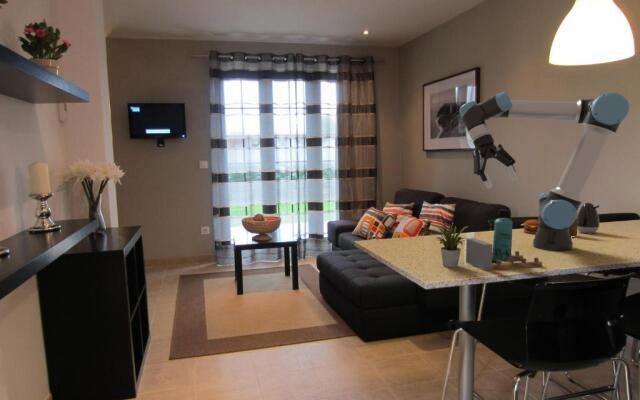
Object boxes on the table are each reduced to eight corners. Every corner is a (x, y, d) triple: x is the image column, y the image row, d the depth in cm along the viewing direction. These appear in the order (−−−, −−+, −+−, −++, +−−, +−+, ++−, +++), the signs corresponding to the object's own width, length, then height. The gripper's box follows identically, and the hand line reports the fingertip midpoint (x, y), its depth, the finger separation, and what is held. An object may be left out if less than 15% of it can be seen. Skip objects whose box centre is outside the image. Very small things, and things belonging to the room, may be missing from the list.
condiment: (580, 236, 214) (582, 211, 213) (571, 238, 210) (572, 213, 208) (565, 234, 220) (566, 210, 219) (556, 236, 216) (557, 211, 214)
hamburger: (548, 233, 222) (548, 220, 221) (532, 235, 219) (533, 221, 218) (534, 230, 231) (534, 218, 230) (518, 232, 228) (519, 219, 227)
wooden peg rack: (520, 258, 171) (521, 250, 170) (542, 266, 159) (542, 258, 159) (473, 261, 167) (473, 253, 167) (491, 269, 155) (491, 261, 155)
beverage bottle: (488, 261, 167) (490, 208, 164) (505, 260, 167) (507, 207, 165) (497, 266, 160) (499, 211, 157) (515, 265, 161) (517, 210, 158)
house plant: (421, 267, 160) (421, 222, 158) (433, 259, 172) (433, 217, 170) (461, 272, 152) (462, 225, 151) (471, 263, 164) (472, 219, 162)
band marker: (491, 256, 168) (491, 254, 168) (511, 264, 156) (511, 262, 156) (484, 257, 168) (484, 255, 168) (503, 264, 156) (503, 263, 156)
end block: (473, 261, 167) (473, 238, 166) (491, 269, 155) (492, 244, 154) (465, 262, 166) (466, 238, 165) (483, 270, 155) (484, 244, 154)
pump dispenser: (591, 235, 216) (592, 204, 214) (570, 232, 225) (572, 202, 223) (603, 233, 220) (605, 203, 219) (583, 230, 230) (584, 201, 228)
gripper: (498, 136, 191) (519, 181, 186) (452, 147, 182) (473, 194, 177) (510, 128, 184) (532, 174, 179) (463, 138, 175) (485, 187, 170)
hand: (503, 184), depth 178 cm, fingers open, 13 cm apart
